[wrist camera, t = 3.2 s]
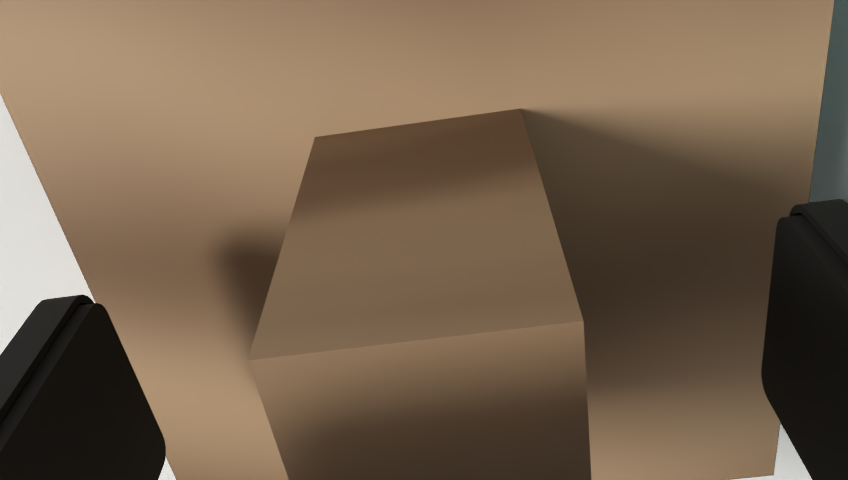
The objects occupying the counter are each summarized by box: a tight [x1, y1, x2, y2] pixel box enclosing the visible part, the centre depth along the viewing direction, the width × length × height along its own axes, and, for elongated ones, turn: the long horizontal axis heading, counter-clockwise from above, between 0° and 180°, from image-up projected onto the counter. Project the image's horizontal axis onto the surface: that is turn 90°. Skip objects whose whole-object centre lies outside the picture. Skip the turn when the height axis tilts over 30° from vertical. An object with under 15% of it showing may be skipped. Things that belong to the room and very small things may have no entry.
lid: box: [0, 0, 834, 480], centre depth 11 cm, size 12×12×6 cm
